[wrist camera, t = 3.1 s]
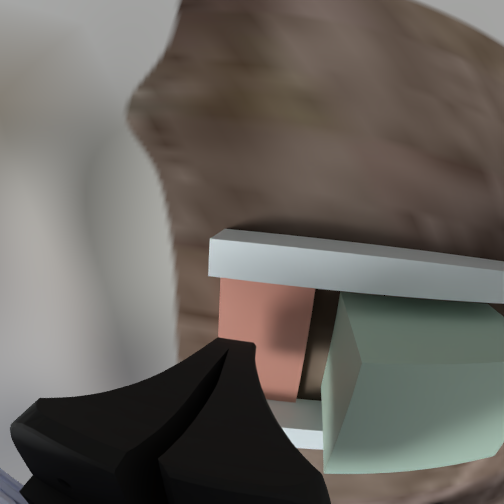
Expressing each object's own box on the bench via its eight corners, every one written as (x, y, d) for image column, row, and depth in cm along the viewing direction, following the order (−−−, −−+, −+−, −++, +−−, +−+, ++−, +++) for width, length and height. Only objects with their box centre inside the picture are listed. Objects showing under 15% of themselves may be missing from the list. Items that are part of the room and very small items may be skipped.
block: (455, 387, 12) (494, 455, 7) (320, 385, 13) (323, 473, 8) (486, 302, 11) (549, 356, 6) (340, 290, 12) (361, 362, 7)
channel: (477, 414, 12) (490, 437, 10) (218, 406, 13) (207, 434, 12) (533, 265, 10) (558, 278, 8) (225, 228, 12) (209, 238, 10)
